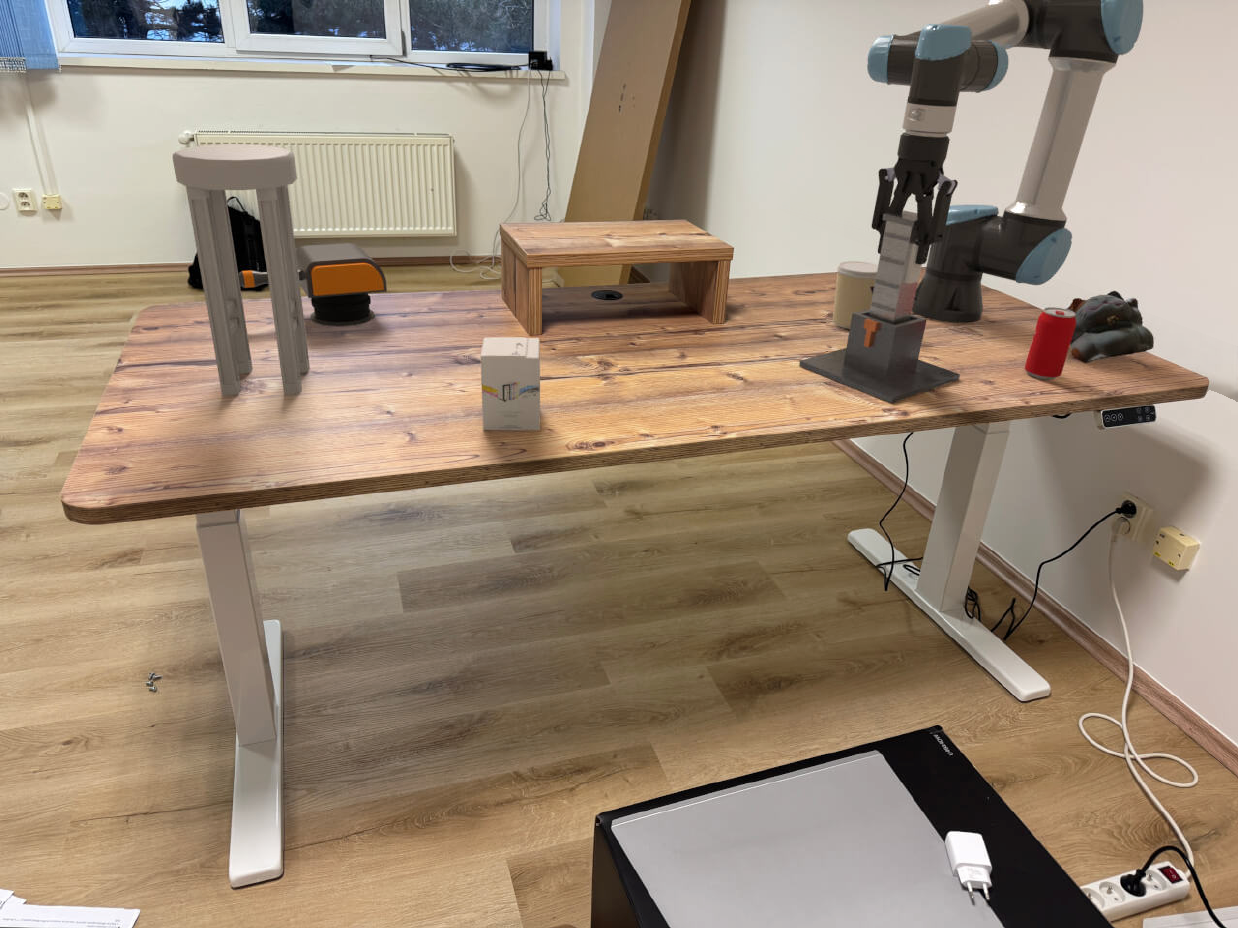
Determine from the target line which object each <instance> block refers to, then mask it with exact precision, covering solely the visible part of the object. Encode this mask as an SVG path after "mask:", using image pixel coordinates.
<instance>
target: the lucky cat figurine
mask: <svg viewBox="0 0 1238 928" xmlns="http://www.w3.org/2000/svg"><path fill="white" fill-rule="evenodd" d="M1065 309H1067V310H1070V311H1073V312H1074V313H1075V318H1076V326H1075V330H1074V333H1073V336H1072V340H1071V343H1070V348H1071V349H1070V350H1071V351H1070V353H1071V356H1072V358H1073V359H1074V360H1077V361H1078V362H1081V363H1083V364H1088V363H1092V362H1094V361H1100V360H1105V359H1110V358H1115V357H1121V356H1127V355H1128V356H1129V355H1134V354H1139V353H1145V352H1148V351H1149V350H1150V351H1151V350H1152V349H1153V348H1154V346H1155V345H1154V338H1155V337H1154V335H1153V333H1152V331H1150V330H1149V329H1148V328H1147V327H1146V326H1144V325H1143V323H1144V321H1143V316H1142V313H1141V312H1140V309H1139V300H1137V298H1136V297H1131V298H1127V299H1124V298H1123V297H1122V295H1121V294H1120V292H1118V291H1116V290H1112V291H1110V292H1108V293H1107V294H1098V295H1095V296H1092V297H1090V298H1088V299H1082V298H1080V297H1076V298H1073V299H1072V302H1071V303H1070V304H1069V306H1068V307H1067V308H1065Z"/></svg>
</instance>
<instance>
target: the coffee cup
mask: <svg viewBox="0 0 1238 928" xmlns="http://www.w3.org/2000/svg"><path fill="white" fill-rule="evenodd" d="M877 269H878V264H875V263H871V262H866V261H859V260H857V261H856V260H853V261H851V260H850V261H843V262H840V263H839V265H838V266H837V269H836V271H837V274H836V282H835V290H834V302H833V312H832V322H833V323H832V324H834V325H835V326H836V327H840V328H843V329H849V330H850V325H851V320H852V314H853V313H856V312H860V311H864V310H868V309H870V307H871V301H872V296H873V291H874V285H875V280H876V275H877Z"/></svg>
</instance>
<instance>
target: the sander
mask: <svg viewBox="0 0 1238 928" xmlns="http://www.w3.org/2000/svg"><path fill="white" fill-rule="evenodd" d="M295 250H296V258H297V266H298V274H299V283H300V288H301V289H302V290H303V292H304V293H305V295H306V296H307V298H308V299H310V301H311V303H310V304H311V306H312V308H313V310H314V311H313V312H312V313H311V314H310V316H309V317H310V321H312V323H315V324H317V325H320V326H325V327H326V326H327V327H338V328H339V327H351V326H359V325H362V324H366V323H368V322H370V321H372V320H374V318H375V312H374V311H373V310H372V309H370V305H371V304H372V301H371V300H372V299H371V295H369V294H373V293H385V292H387V291H388V290H387V288H388V287H387V280H386V276H385V274H384V271H383V269H382V268H381V266H379V264H377V263H376V261H375V260H374V259H373V258H372V257H371V256H370V255H369V254H368V253H367V252H366V251H365V250H364V249H363V248H362V247H361V246H360V245H357V244H355V243H352V242H345V243H329V244H328V243H327V244H314V245H311V244H310V245H301V246H300V247H297V249H295ZM238 277H239V283H240V287H242V288H245V289H246V288H256V287H258V286H260V285H262V286H263V285H264V284H266V285H267V284H268V285H269V281H268V274H267V271H262V272H261V271H257V270H251V269H250V270H241V271H240V272H238Z"/></svg>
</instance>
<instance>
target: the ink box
mask: <svg viewBox="0 0 1238 928" xmlns="http://www.w3.org/2000/svg"><path fill="white" fill-rule="evenodd" d="M540 354H541V353H540V338H539V337H532V338H531V337H528V338H527V337H524V336H523V337H520V336H510V337H509V336H508V337H507V336H506V337H484V338H483V341H482V346H481V351H480V377H481V382H480V383H481V384H480V385H481V405H482V407H481V408H482V410H481V411H482V430H483V431H540V428H541V427H540V423H541V422H540V421H541V420H540V417H541V416H540V415H541V414H540V413H541V363H540V362H541V359H540Z"/></svg>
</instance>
